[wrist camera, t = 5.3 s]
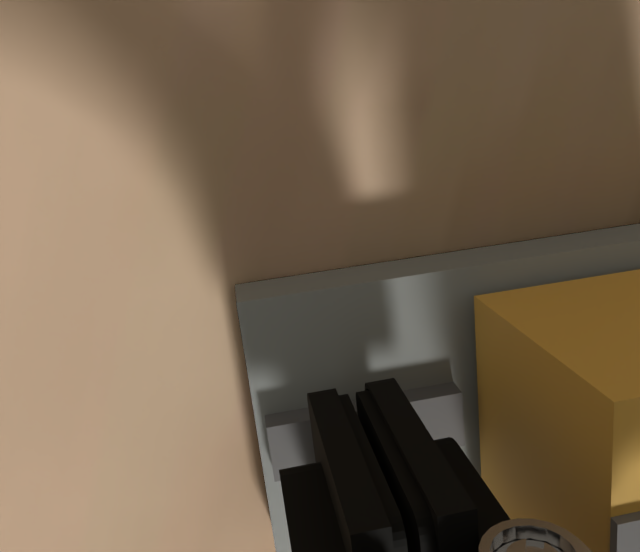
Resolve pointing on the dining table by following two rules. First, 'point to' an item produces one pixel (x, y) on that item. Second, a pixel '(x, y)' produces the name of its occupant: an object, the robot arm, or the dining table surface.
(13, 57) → the dining table surface
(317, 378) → the base plate
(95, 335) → the dining table surface
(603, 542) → the strap block
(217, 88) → the dining table surface
